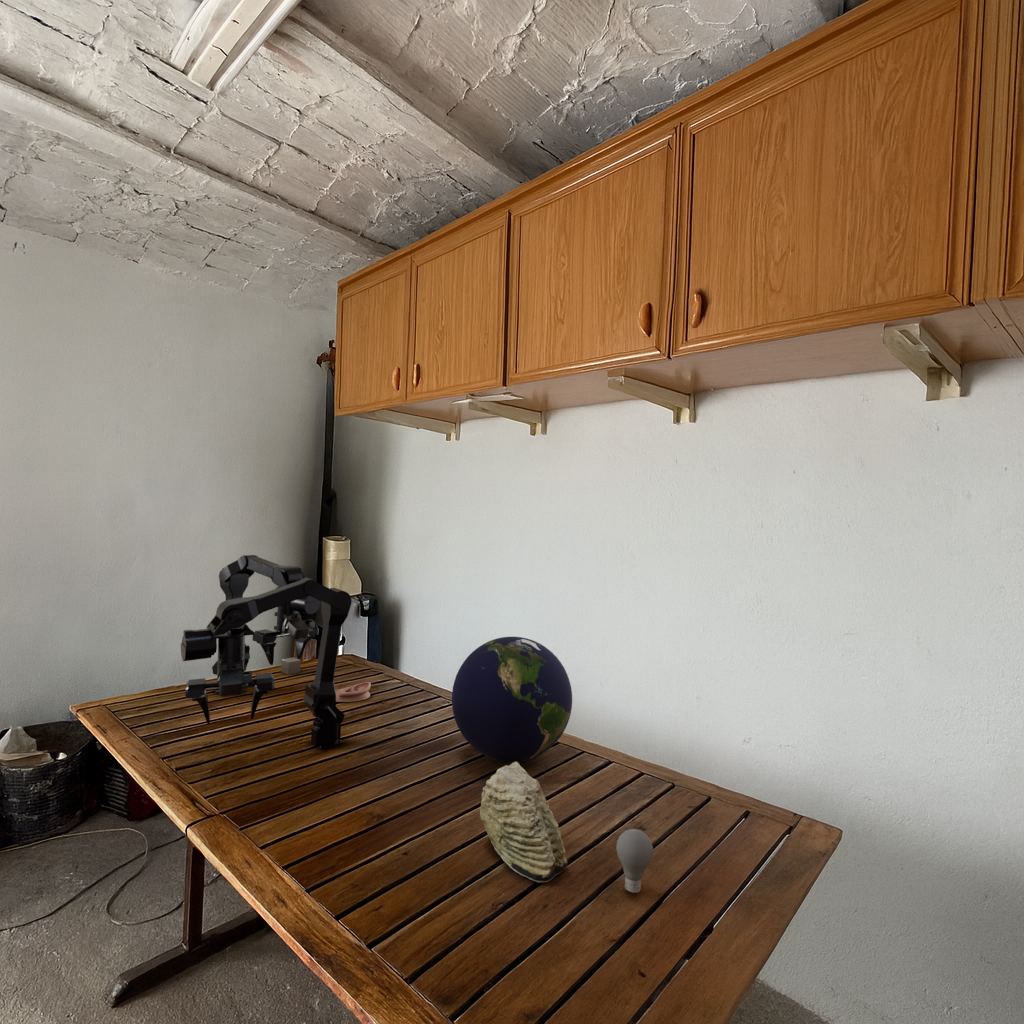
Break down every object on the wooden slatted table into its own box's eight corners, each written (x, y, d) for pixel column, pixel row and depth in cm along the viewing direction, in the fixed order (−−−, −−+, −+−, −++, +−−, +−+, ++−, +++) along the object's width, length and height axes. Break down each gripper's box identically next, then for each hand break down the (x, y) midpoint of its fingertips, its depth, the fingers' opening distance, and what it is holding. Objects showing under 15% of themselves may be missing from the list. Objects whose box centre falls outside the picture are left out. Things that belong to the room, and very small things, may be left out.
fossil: (501, 827, 124) (504, 751, 124) (575, 868, 111) (578, 784, 111) (467, 843, 118) (470, 763, 118) (541, 889, 105) (545, 799, 105)
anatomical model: (319, 687, 195) (337, 677, 207) (319, 699, 195) (336, 689, 207) (359, 691, 193) (375, 681, 204) (359, 704, 193) (374, 693, 204)
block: (281, 672, 224) (281, 659, 224) (292, 669, 228) (293, 657, 228) (288, 674, 221) (288, 662, 221) (300, 672, 225) (300, 659, 225)
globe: (497, 727, 179) (502, 621, 178) (591, 755, 161) (596, 638, 161) (424, 759, 155) (429, 637, 154) (524, 797, 137) (530, 659, 137)
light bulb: (610, 879, 108) (613, 822, 108) (644, 879, 109) (647, 822, 109) (619, 902, 102) (622, 840, 102) (655, 901, 103) (658, 840, 103)
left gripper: (275, 617, 174) (272, 673, 175) (331, 609, 189) (328, 661, 190) (252, 611, 181) (250, 665, 181) (308, 604, 196) (305, 654, 196)
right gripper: (184, 667, 136) (183, 739, 137) (276, 660, 144) (275, 728, 145) (187, 655, 147) (186, 721, 147) (273, 648, 154) (272, 712, 155)
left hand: (285, 661), depth 187 cm, fingers open, 9 cm apart
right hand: (230, 721), depth 148 cm, fingers open, 9 cm apart
